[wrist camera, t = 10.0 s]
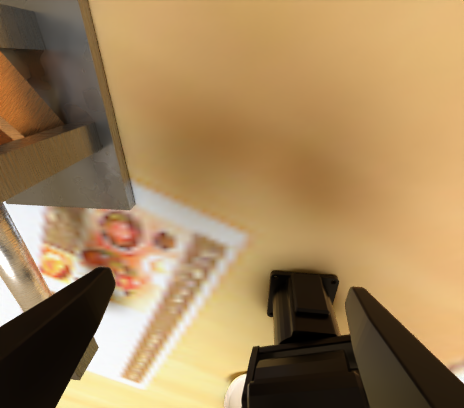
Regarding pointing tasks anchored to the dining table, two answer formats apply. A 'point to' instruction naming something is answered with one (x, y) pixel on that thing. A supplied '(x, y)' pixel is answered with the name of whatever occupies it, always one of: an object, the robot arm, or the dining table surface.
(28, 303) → the shaft
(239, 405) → the spread jar
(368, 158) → the dining table surface
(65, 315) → the robot arm
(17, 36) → the bracket
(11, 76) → the block
